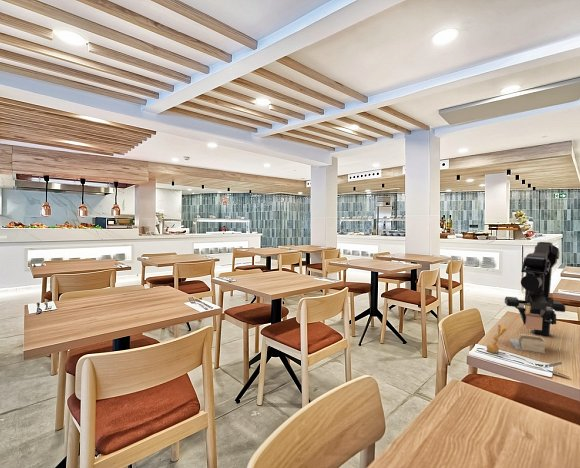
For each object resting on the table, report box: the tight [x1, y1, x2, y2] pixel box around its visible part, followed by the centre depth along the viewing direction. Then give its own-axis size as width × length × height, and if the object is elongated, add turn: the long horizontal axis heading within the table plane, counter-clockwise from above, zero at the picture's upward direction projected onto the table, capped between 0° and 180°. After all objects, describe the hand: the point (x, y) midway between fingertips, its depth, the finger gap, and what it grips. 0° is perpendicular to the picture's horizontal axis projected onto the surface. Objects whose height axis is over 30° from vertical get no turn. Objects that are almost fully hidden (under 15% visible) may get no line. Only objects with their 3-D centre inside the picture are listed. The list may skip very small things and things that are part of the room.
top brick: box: [522, 312, 543, 330], centre depth 128 cm, size 5×5×5 cm
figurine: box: [486, 323, 507, 354], centre depth 123 cm, size 8×6×12 cm
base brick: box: [518, 333, 546, 353], centre depth 129 cm, size 7×7×4 cm
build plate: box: [508, 338, 547, 354], centre depth 131 cm, size 12×10×1 cm
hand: (532, 324), depth 128 cm, fingers closed on top brick, 5 cm apart
